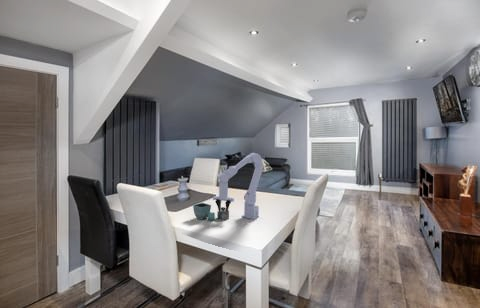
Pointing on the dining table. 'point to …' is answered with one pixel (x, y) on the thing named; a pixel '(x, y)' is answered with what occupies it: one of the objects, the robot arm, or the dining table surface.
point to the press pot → (223, 215)
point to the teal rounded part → (211, 216)
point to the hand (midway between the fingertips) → (223, 211)
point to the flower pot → (201, 210)
